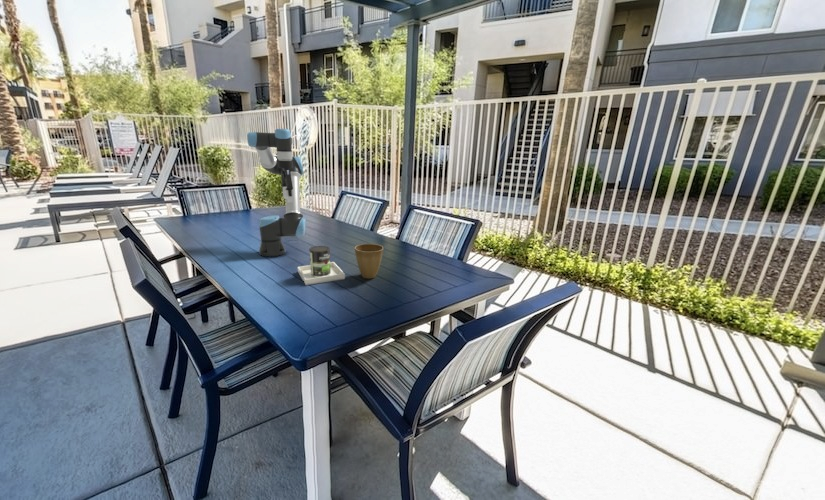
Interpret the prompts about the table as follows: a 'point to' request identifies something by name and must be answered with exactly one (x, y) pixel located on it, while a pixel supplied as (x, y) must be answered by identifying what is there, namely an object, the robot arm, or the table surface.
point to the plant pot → (368, 259)
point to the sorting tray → (309, 280)
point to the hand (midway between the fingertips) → (288, 200)
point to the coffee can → (320, 261)
